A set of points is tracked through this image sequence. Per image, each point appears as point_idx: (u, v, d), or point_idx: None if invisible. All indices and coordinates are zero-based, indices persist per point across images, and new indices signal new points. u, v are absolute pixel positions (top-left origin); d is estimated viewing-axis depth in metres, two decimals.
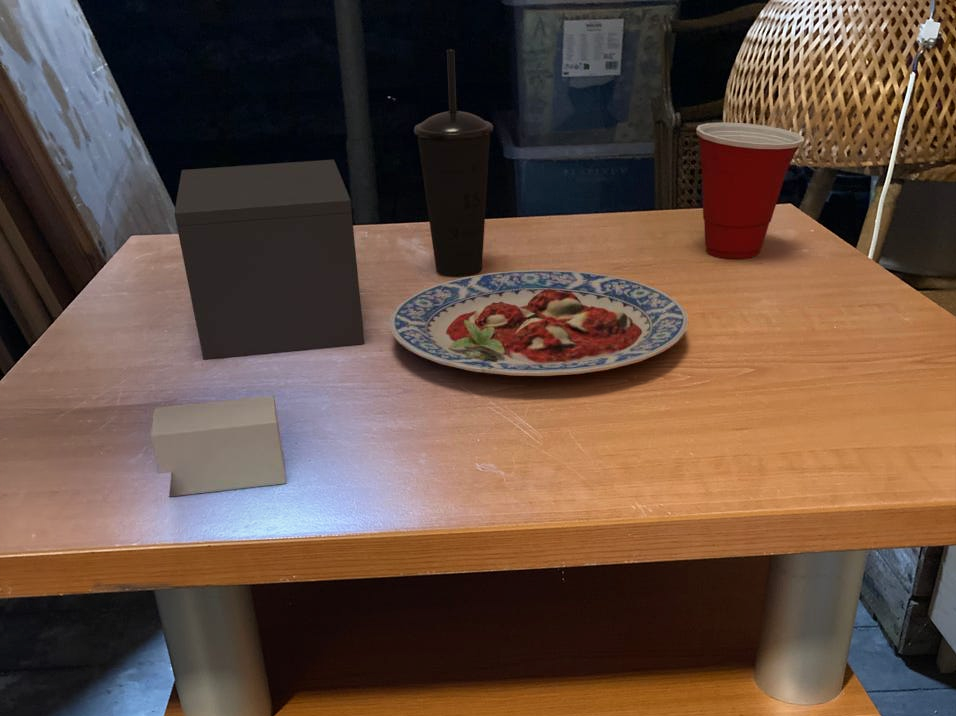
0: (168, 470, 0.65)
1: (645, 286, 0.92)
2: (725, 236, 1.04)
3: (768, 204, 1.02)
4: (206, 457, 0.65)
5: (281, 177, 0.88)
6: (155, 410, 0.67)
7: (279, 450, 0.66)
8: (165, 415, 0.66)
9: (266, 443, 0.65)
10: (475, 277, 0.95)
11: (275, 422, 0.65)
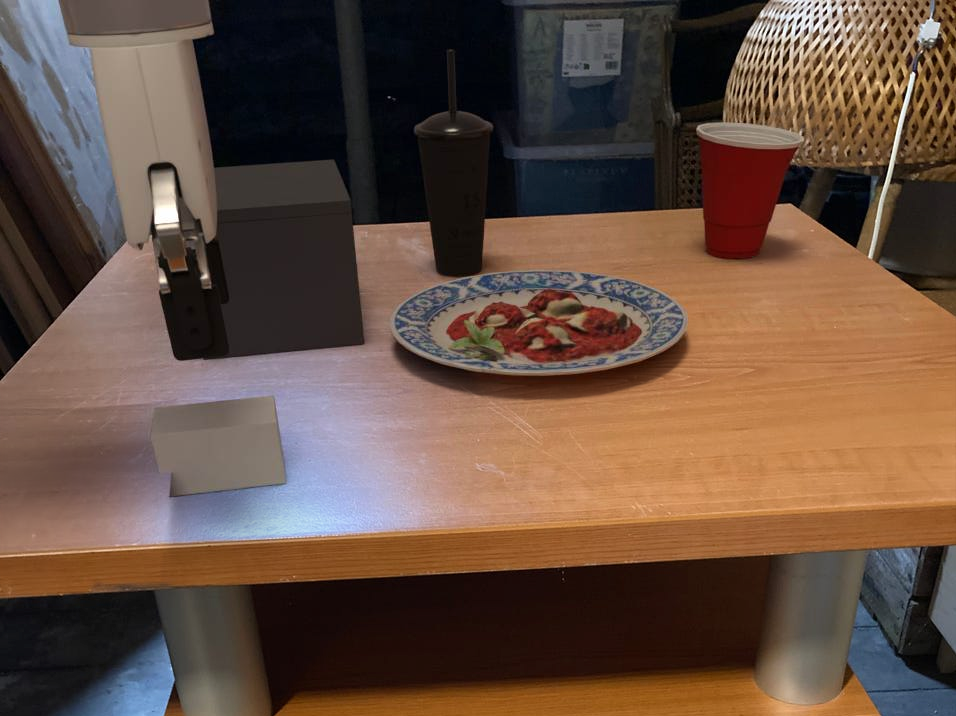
0: (168, 470, 0.65)
1: (645, 286, 0.92)
2: (725, 236, 1.04)
3: (768, 204, 1.02)
4: (206, 457, 0.65)
5: (281, 177, 0.88)
6: (155, 410, 0.67)
7: (279, 450, 0.66)
8: (165, 415, 0.66)
9: (266, 443, 0.65)
10: (475, 277, 0.95)
11: (275, 422, 0.65)
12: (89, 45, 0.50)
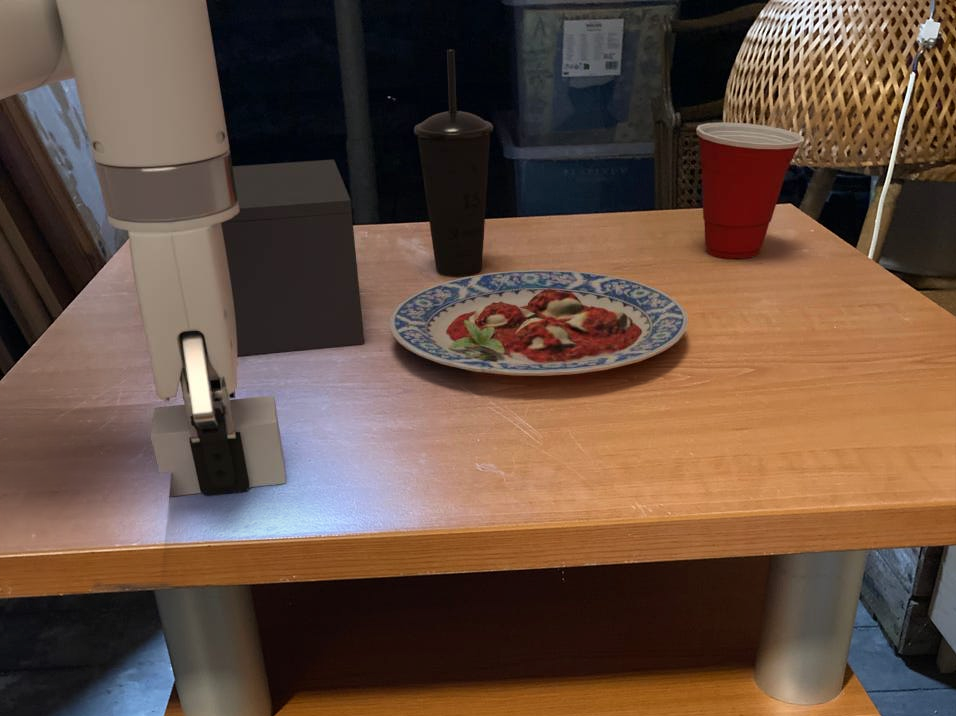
0: (168, 470, 0.65)
1: (645, 286, 0.92)
2: (725, 236, 1.04)
3: (768, 204, 1.02)
4: None
5: (281, 177, 0.88)
6: (155, 410, 0.67)
7: (279, 450, 0.66)
8: (165, 415, 0.66)
9: (266, 444, 0.65)
10: (475, 277, 0.95)
11: (275, 422, 0.65)
12: (128, 229, 0.56)
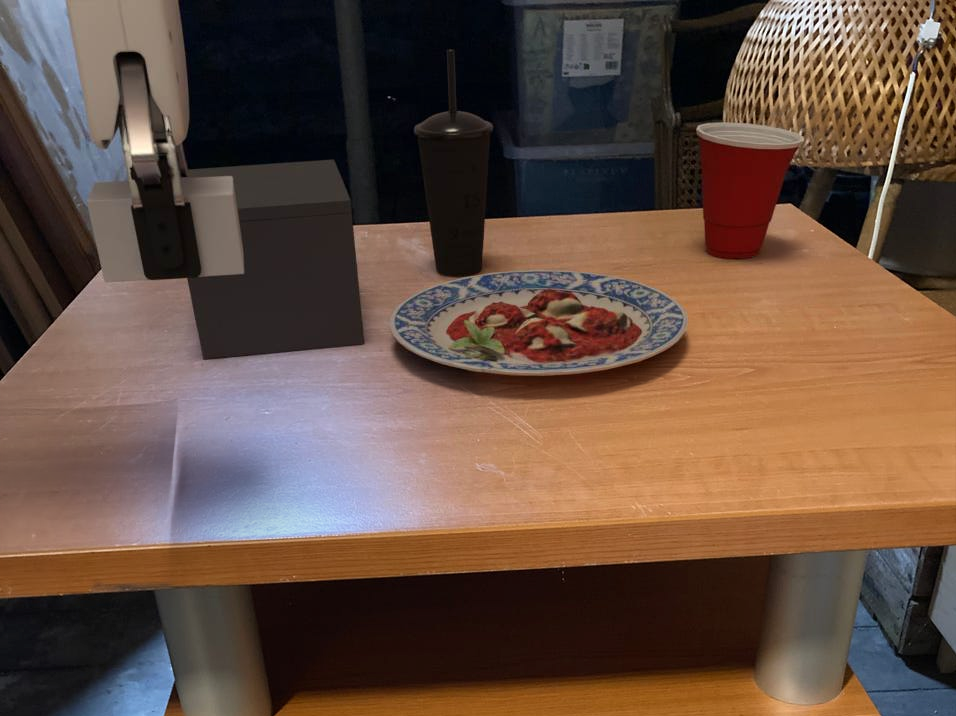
0: (107, 248, 0.57)
1: (645, 286, 0.92)
2: (725, 236, 1.04)
3: (768, 204, 1.02)
4: None
5: (281, 177, 0.88)
6: (95, 184, 0.58)
7: (236, 230, 0.58)
8: (106, 187, 0.57)
9: (221, 221, 0.57)
10: (475, 277, 0.95)
11: (231, 194, 0.56)
12: None
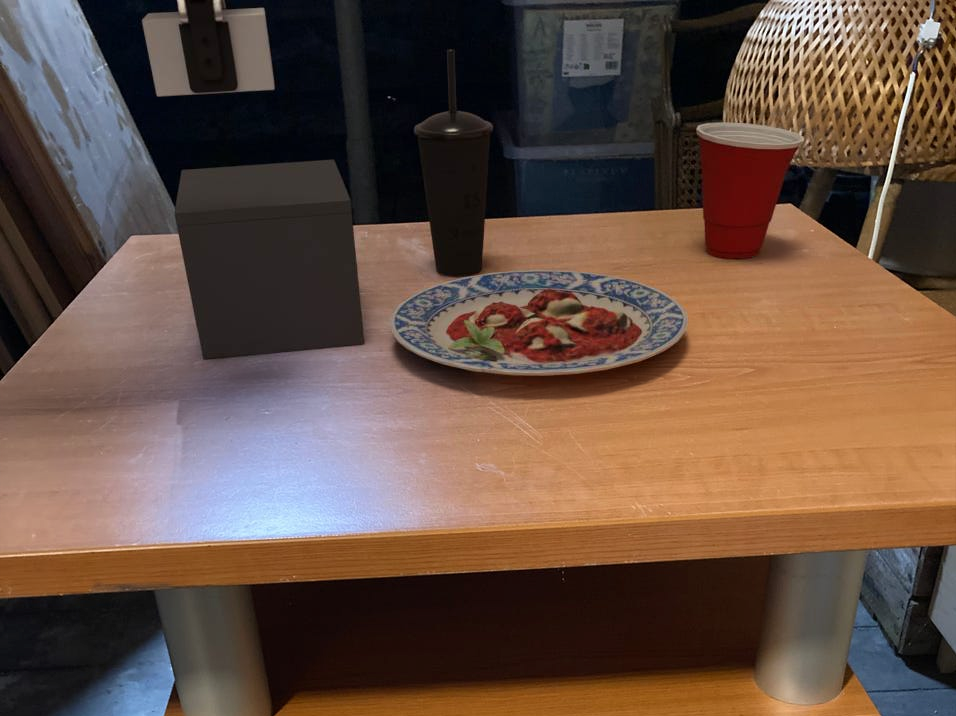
0: (159, 63, 0.67)
1: (645, 286, 0.92)
2: (725, 236, 1.04)
3: (768, 204, 1.02)
4: None
5: (281, 177, 0.88)
6: (148, 14, 0.68)
7: (267, 48, 0.67)
8: (157, 14, 0.68)
9: (254, 39, 0.67)
10: (475, 277, 0.95)
11: (263, 14, 0.66)
12: None
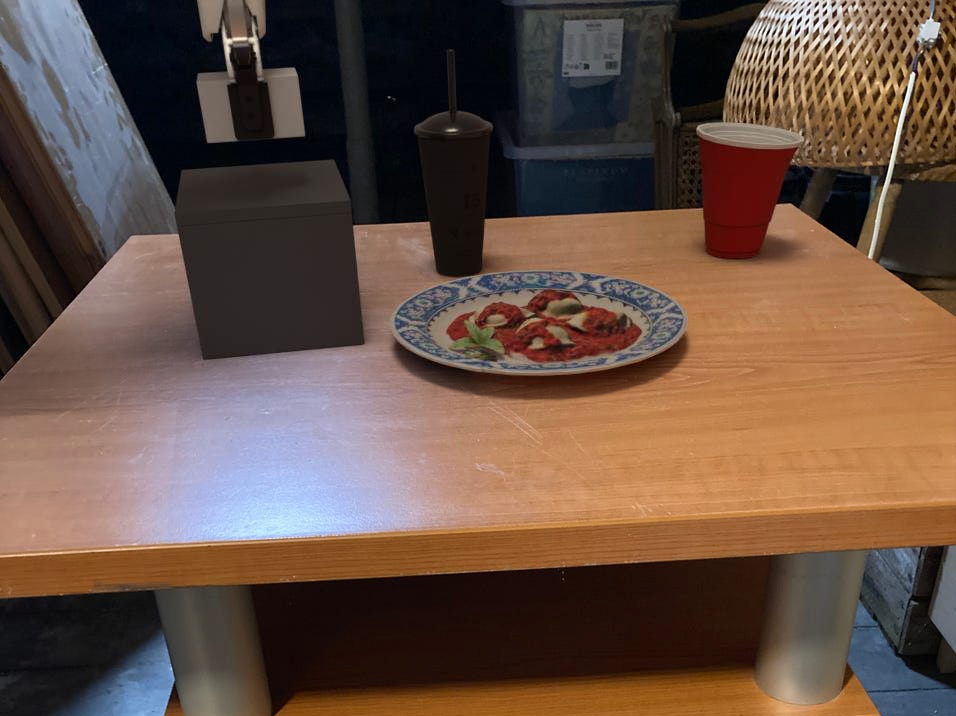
0: (210, 116, 0.80)
1: (645, 286, 0.92)
2: (725, 236, 1.04)
3: (768, 204, 1.02)
4: None
5: (281, 177, 0.88)
6: (198, 74, 0.82)
7: (300, 103, 0.81)
8: (207, 75, 0.81)
9: (289, 95, 0.81)
10: (475, 277, 0.95)
11: (296, 75, 0.80)
12: None
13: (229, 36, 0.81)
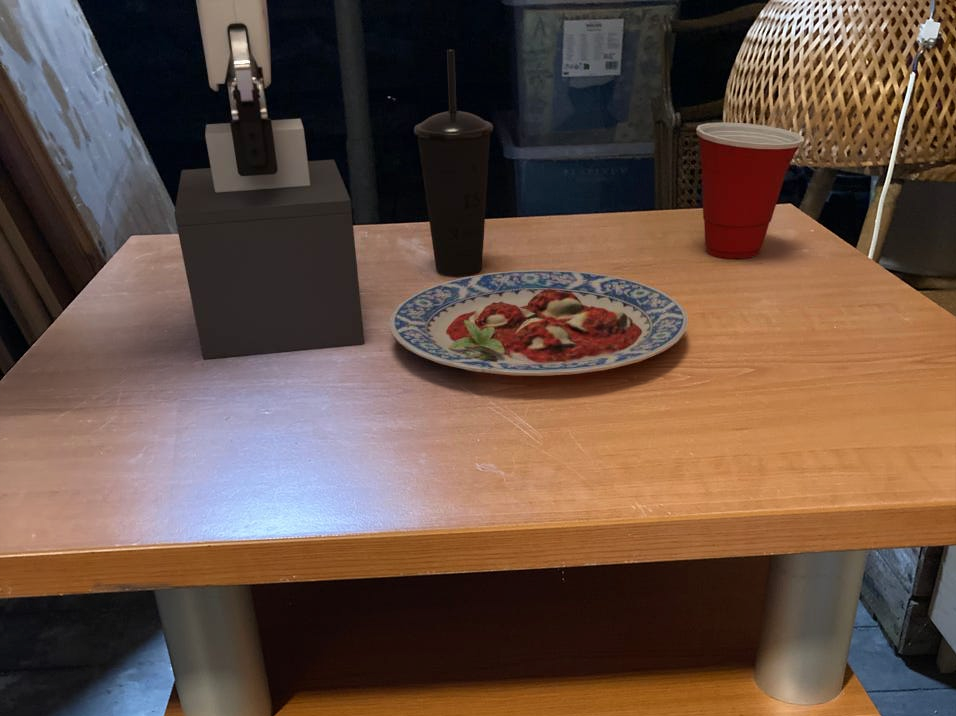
0: (218, 167, 0.83)
1: (645, 286, 0.92)
2: (725, 236, 1.04)
3: (768, 204, 1.02)
4: None
5: None
6: (207, 125, 0.84)
7: (305, 154, 0.83)
8: (215, 127, 0.83)
9: (295, 147, 0.83)
10: (475, 277, 0.95)
11: (302, 128, 0.82)
12: None
13: None
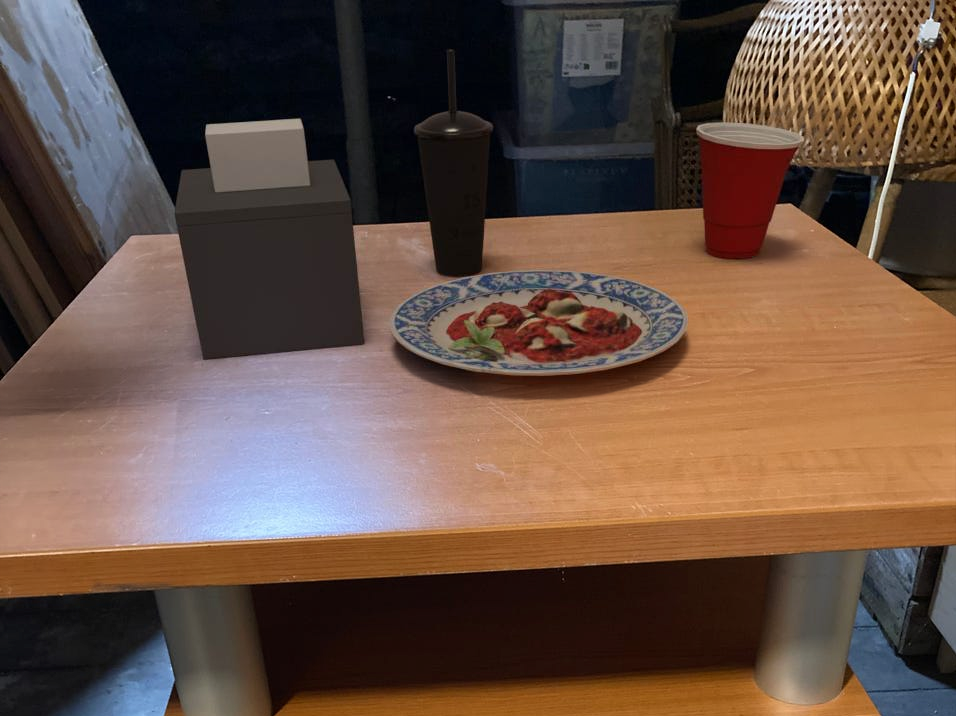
0: (218, 167, 0.83)
1: (645, 286, 0.92)
2: (725, 236, 1.04)
3: (768, 204, 1.02)
4: (248, 157, 0.83)
5: None
6: (207, 125, 0.84)
7: (305, 154, 0.83)
8: (215, 127, 0.83)
9: (295, 147, 0.83)
10: (475, 277, 0.95)
11: (302, 128, 0.82)
12: None
13: None
